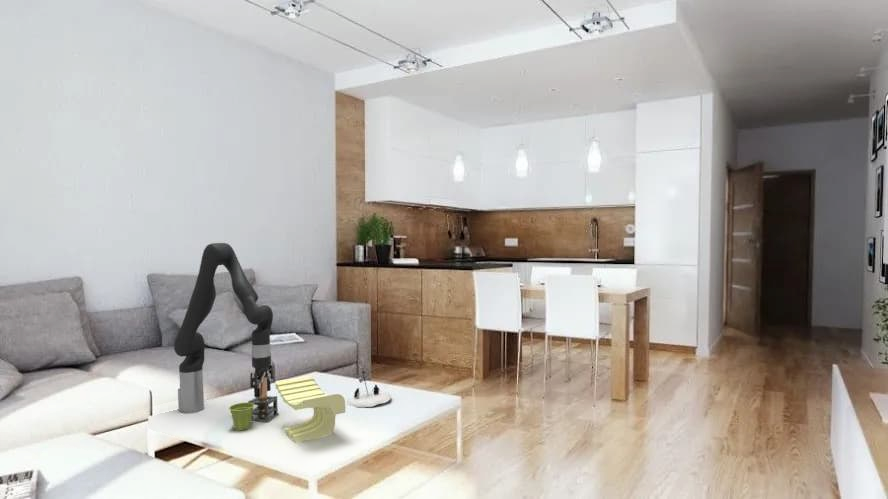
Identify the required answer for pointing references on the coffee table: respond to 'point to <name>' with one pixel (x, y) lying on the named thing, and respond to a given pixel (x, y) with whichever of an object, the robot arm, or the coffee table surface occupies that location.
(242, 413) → the plant pot
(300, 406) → the slatted curved stool
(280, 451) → the coffee table surface
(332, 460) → the coffee table surface
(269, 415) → the metal frame cube
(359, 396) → the figurine
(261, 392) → the tube
